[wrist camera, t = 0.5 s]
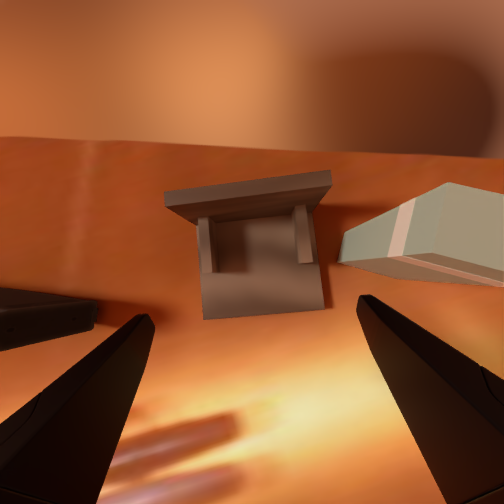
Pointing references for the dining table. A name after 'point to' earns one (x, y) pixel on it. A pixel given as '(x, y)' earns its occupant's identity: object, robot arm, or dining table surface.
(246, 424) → the dining table surface
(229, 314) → the book rack
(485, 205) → the book
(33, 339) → the magazine
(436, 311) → the dining table surface
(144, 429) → the dining table surface
